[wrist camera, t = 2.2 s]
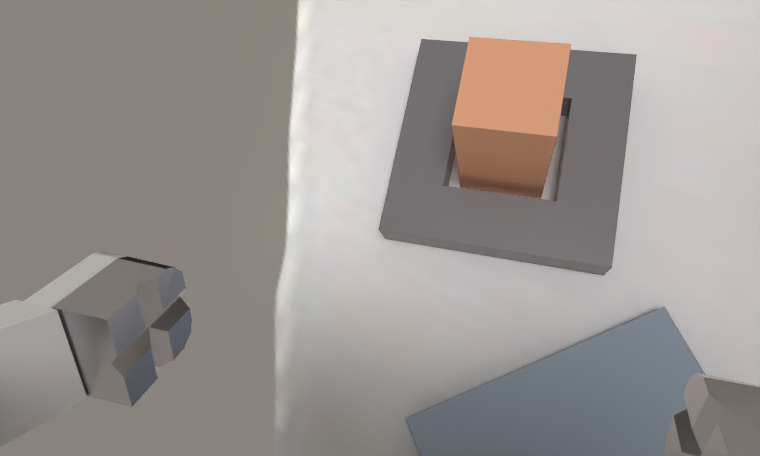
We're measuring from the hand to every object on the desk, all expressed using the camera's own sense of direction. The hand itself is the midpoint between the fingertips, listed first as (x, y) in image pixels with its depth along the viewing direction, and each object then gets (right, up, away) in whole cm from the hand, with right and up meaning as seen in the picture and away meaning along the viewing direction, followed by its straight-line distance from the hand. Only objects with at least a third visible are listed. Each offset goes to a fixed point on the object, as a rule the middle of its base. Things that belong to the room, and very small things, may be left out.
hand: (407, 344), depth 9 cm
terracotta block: (+7, +6, +23) cm, 25 cm away
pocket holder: (+7, +6, +23) cm, 24 cm away
